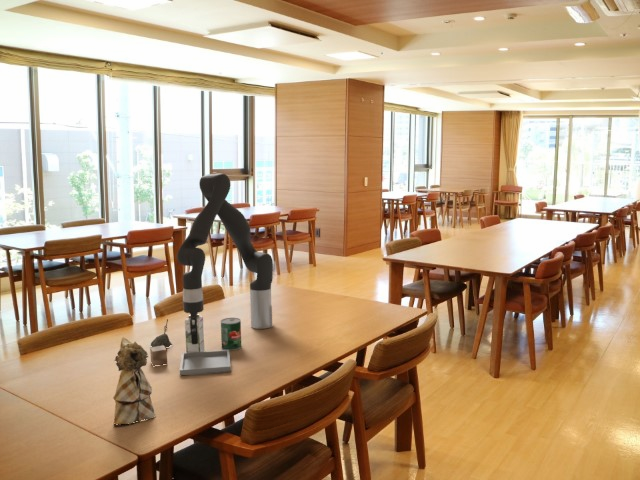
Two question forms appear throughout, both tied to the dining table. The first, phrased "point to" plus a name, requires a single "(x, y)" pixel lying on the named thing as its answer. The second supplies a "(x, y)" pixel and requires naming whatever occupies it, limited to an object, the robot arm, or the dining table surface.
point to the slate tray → (205, 362)
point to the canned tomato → (231, 333)
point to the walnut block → (158, 355)
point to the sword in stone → (161, 339)
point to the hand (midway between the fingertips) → (195, 340)
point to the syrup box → (200, 345)
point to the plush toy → (132, 385)
